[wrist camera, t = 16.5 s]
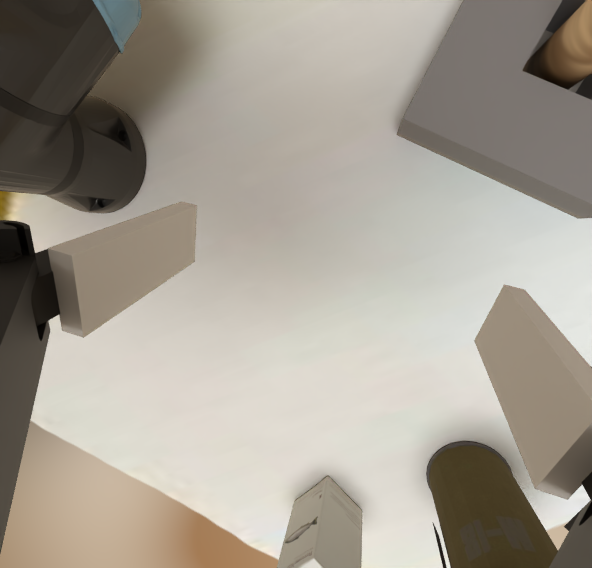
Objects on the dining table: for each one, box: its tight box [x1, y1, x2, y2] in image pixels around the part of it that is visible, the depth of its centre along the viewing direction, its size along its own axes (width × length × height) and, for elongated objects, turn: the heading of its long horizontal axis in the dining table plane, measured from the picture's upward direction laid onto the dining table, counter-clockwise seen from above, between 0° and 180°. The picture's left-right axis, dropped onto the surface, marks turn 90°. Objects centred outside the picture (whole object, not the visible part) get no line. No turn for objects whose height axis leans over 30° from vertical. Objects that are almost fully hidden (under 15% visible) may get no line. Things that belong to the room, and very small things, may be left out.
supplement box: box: [277, 476, 362, 568], centre depth 43 cm, size 7×7×13 cm
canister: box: [427, 442, 558, 568], centre depth 34 cm, size 11×10×20 cm
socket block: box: [397, 0, 592, 218], centre depth 32 cm, size 22×22×6 cm
